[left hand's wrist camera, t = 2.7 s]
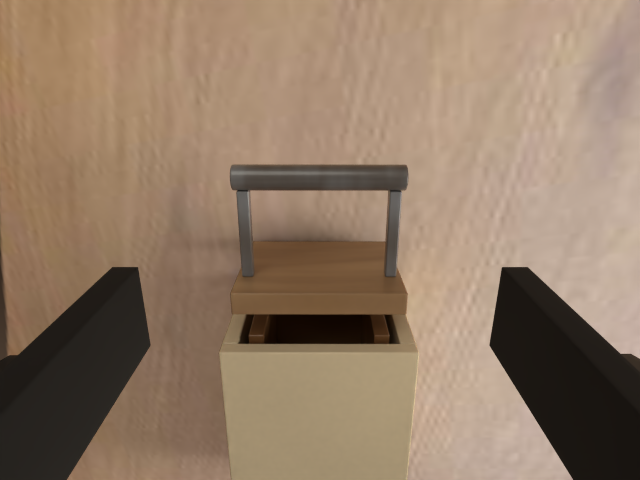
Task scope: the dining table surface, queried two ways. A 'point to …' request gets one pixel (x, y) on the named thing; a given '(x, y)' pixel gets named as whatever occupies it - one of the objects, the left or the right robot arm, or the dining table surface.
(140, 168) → the dining table surface
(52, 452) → the left robot arm
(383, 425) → the cabinet
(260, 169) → the drawer
